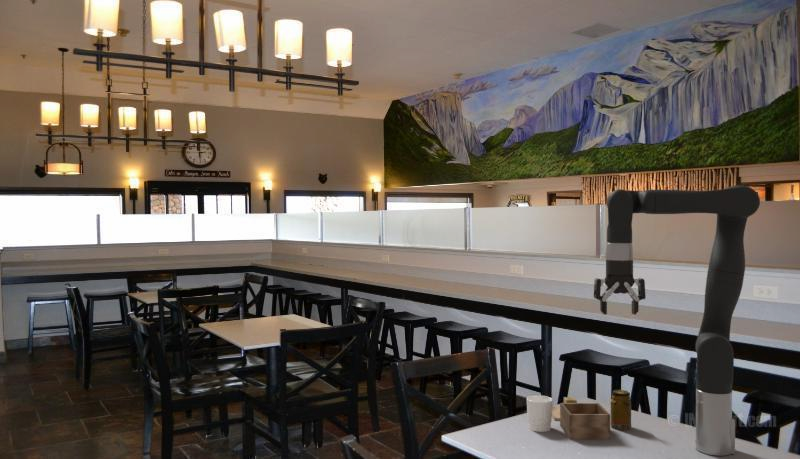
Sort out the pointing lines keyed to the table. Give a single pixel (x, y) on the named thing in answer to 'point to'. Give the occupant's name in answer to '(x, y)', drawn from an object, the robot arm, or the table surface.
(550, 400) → the white cup
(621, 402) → the condiment
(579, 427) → the box
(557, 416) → the lid
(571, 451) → the table surface
